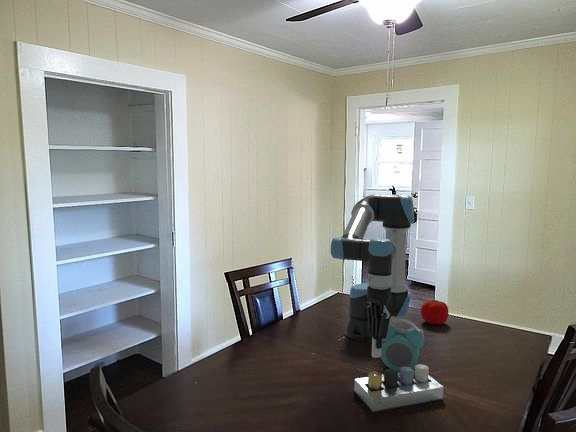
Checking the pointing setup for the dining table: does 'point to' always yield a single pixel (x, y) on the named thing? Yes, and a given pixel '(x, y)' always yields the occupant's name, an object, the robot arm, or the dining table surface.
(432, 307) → the tomato
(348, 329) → the robot arm
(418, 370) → the white egg
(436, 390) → the white socket board
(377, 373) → the gold rounded cylinder
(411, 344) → the alarm clock
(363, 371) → the dining table surface
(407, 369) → the blue ovoid
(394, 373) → the black rounded cylinder
